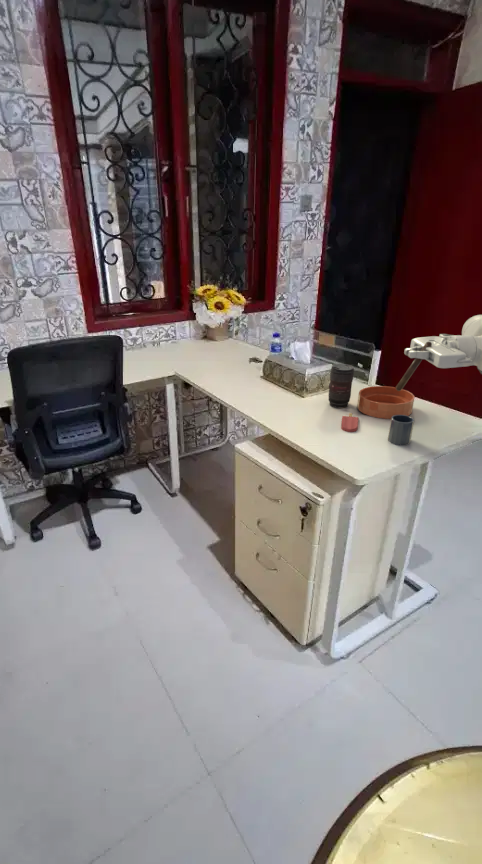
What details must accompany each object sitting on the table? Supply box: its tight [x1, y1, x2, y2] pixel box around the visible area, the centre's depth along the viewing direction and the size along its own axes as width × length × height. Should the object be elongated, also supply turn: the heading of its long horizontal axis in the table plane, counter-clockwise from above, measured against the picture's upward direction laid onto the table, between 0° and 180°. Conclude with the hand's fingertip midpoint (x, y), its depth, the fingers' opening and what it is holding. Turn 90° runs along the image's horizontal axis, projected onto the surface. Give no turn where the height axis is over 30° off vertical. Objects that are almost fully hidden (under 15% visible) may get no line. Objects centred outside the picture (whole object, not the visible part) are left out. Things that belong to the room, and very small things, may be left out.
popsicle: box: [340, 412, 360, 433], centre depth 141 cm, size 5×2×15 cm
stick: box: [395, 342, 432, 391], centre depth 121 cm, size 2×2×16 cm
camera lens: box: [328, 363, 355, 409], centre depth 153 cm, size 8×8×15 cm
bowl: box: [356, 385, 416, 420], centre depth 149 cm, size 18×18×6 cm
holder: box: [387, 415, 415, 446], centre depth 126 cm, size 6×6×8 cm
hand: (407, 353), depth 120 cm, fingers closed on stick, 1 cm apart
